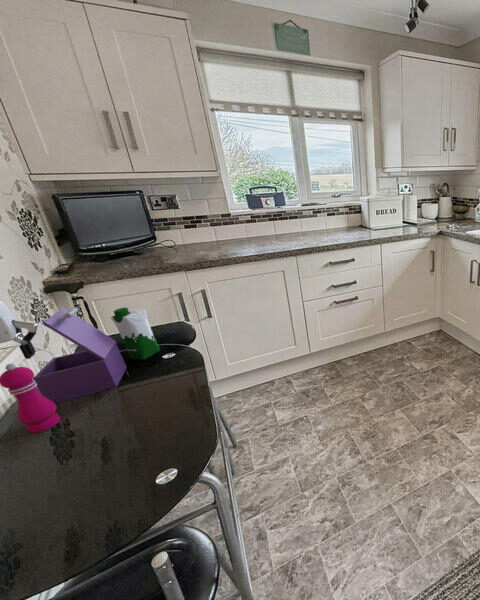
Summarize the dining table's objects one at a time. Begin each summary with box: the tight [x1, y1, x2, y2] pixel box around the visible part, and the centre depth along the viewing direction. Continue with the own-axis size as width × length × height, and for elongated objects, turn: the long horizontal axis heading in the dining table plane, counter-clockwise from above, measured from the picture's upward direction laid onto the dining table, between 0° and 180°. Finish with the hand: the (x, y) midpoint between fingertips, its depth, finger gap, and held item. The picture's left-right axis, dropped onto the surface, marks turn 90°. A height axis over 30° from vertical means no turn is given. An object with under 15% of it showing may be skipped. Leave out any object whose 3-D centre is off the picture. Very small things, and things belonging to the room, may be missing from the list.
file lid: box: [41, 307, 117, 360], centre depth 105 cm, size 18×14×5 cm
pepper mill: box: [0, 363, 61, 434], centre depth 88 cm, size 7×7×20 cm
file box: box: [33, 343, 128, 405], centre depth 108 cm, size 17×14×10 cm
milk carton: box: [109, 307, 161, 361], centre depth 124 cm, size 9×9×20 cm
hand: (5, 362), depth 84 cm, fingers open, 9 cm apart
